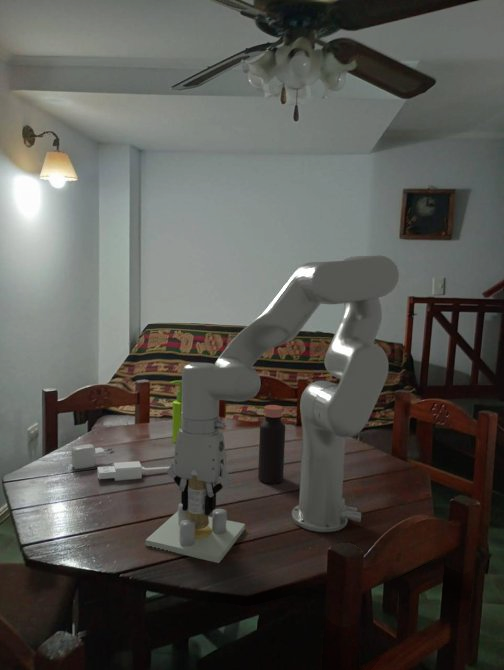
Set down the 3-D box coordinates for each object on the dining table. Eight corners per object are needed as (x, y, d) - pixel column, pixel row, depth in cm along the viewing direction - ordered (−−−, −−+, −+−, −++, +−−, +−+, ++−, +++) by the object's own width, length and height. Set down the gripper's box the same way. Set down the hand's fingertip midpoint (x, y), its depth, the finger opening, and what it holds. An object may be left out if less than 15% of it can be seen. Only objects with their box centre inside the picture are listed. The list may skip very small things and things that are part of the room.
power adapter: (110, 459, 146) (110, 439, 145) (115, 464, 142) (115, 444, 141) (70, 465, 140) (70, 445, 140) (74, 471, 136) (74, 450, 136)
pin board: (244, 529, 108) (245, 506, 107) (218, 563, 95) (219, 537, 94) (178, 515, 113) (178, 493, 113) (145, 545, 100) (145, 520, 100)
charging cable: (218, 473, 141) (218, 462, 141) (98, 482, 129) (99, 470, 129) (212, 466, 146) (213, 455, 145) (96, 475, 134) (97, 463, 133)
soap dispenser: (167, 438, 166) (168, 379, 164) (188, 437, 168) (189, 378, 166) (170, 444, 160) (171, 383, 158) (191, 442, 163) (193, 382, 160)
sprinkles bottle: (201, 517, 107) (202, 456, 105) (213, 525, 103) (214, 463, 102) (182, 523, 104) (183, 461, 103) (194, 532, 101) (195, 468, 99)
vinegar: (287, 478, 136) (290, 406, 134) (274, 486, 131) (278, 412, 128) (266, 472, 140) (269, 402, 138) (253, 480, 134) (255, 407, 132)
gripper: (245, 424, 102) (242, 509, 104) (172, 414, 108) (170, 495, 110) (231, 435, 95) (229, 526, 97) (153, 423, 101) (153, 510, 103)
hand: (198, 509), depth 103 cm, fingers closed on sprinkles bottle, 4 cm apart
